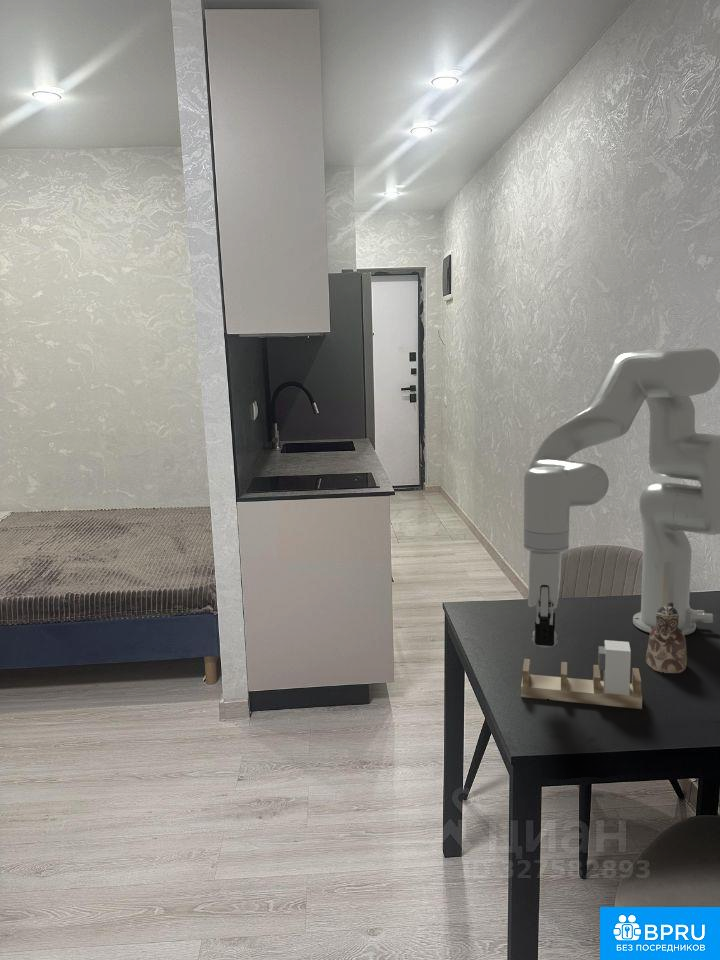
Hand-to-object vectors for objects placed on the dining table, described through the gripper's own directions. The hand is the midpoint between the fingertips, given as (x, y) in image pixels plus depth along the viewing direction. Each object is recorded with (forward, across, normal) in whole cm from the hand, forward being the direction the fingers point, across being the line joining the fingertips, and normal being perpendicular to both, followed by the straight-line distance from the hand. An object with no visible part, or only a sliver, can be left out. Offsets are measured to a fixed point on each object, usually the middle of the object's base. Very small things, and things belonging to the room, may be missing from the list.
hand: (544, 638), depth 123 cm
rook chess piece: (+1, 0, 0) cm, 1 cm away
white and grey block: (+8, 0, +12) cm, 15 cm away
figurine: (+11, -16, +22) cm, 29 cm away
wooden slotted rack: (+10, 0, +6) cm, 12 cm away
